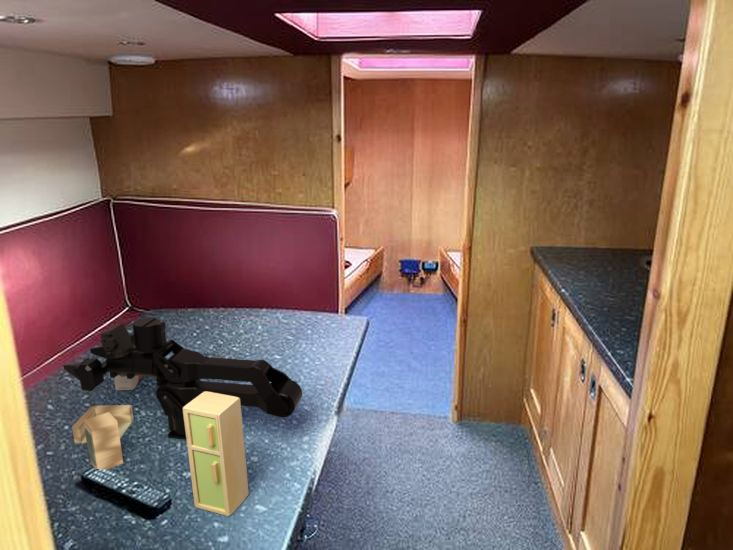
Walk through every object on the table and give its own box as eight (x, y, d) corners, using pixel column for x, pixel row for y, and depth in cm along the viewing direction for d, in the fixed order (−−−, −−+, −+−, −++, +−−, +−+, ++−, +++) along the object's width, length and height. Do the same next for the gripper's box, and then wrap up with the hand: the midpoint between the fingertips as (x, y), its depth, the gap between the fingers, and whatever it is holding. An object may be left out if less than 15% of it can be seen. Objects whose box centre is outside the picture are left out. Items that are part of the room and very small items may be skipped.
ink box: (125, 376, 156) (119, 337, 153) (143, 376, 156) (138, 337, 153) (114, 391, 148) (108, 350, 144) (134, 390, 148) (129, 349, 145)
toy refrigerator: (190, 510, 103) (179, 408, 97) (214, 486, 109) (205, 389, 104) (227, 520, 100) (217, 416, 94) (249, 495, 107) (241, 397, 101)
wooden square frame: (133, 420, 134) (131, 405, 132) (117, 442, 124) (115, 426, 123) (93, 420, 133) (91, 405, 132) (74, 443, 124) (72, 427, 123)
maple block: (115, 453, 120) (108, 411, 118) (123, 463, 117) (117, 420, 114) (89, 462, 117) (82, 420, 114) (97, 473, 114) (90, 430, 111)
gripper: (157, 315, 132) (98, 312, 135) (110, 346, 115) (42, 341, 117) (162, 358, 135) (104, 354, 138) (117, 394, 118) (51, 389, 120)
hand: (77, 358), depth 128 cm, fingers open, 9 cm apart
